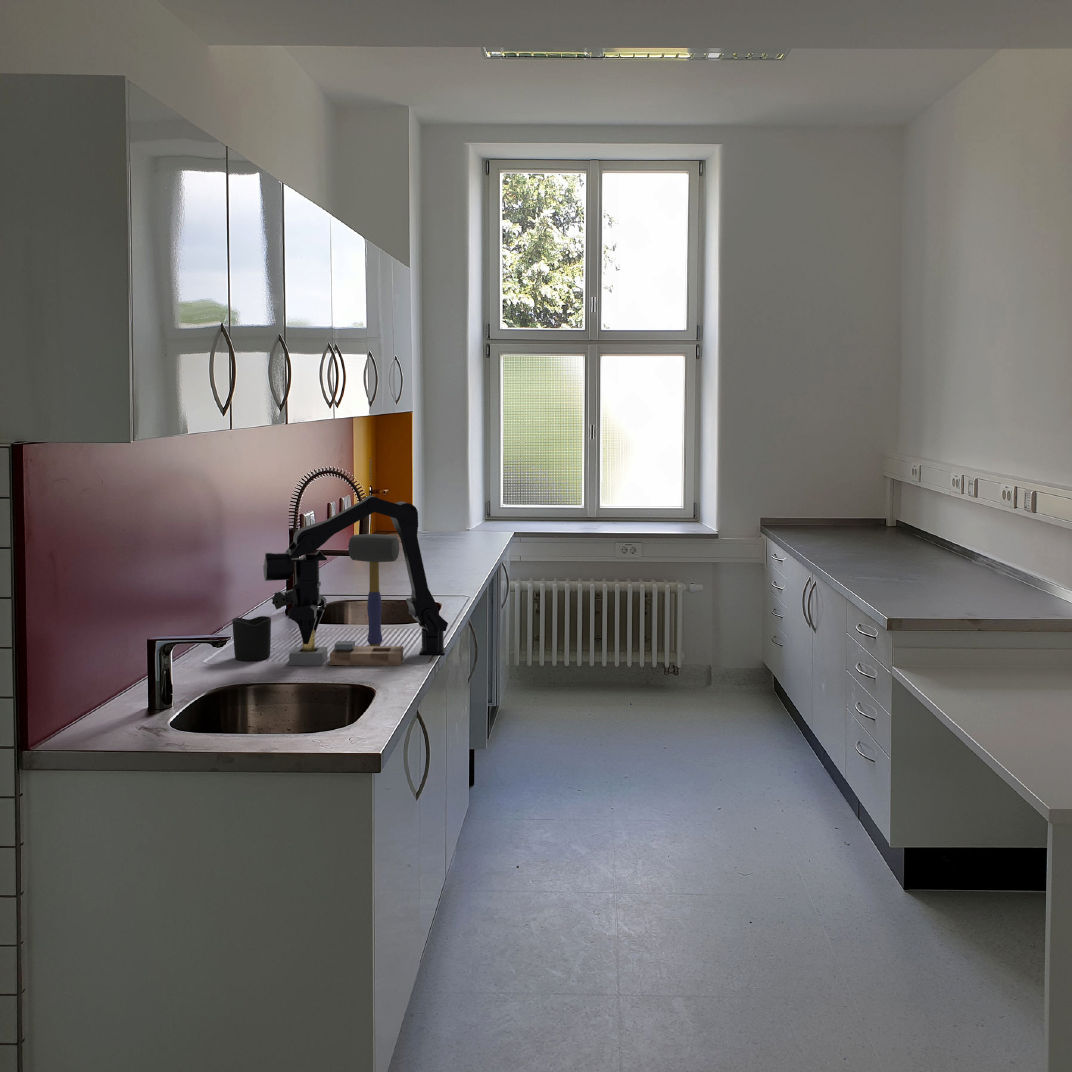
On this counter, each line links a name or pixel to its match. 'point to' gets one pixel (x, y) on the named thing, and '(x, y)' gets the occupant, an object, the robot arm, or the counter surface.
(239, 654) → the pen holder
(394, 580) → the counter surface
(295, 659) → the gray square frame
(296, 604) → the robot arm
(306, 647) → the brass rod
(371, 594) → the rubber mallet
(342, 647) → the gray rectangular block
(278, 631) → the counter surface
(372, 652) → the socket block
